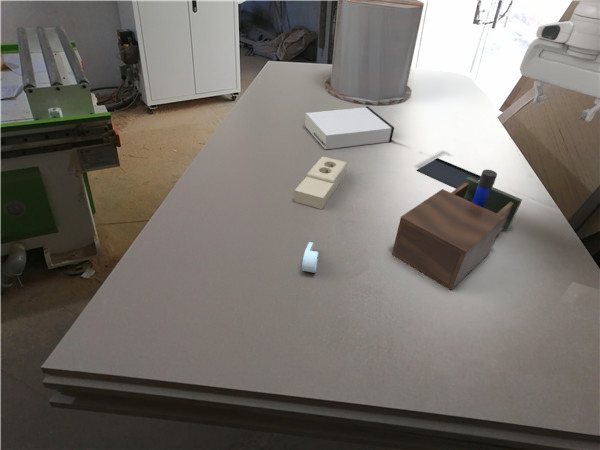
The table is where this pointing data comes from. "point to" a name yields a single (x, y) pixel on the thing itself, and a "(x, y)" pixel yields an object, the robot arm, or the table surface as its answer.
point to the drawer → (492, 201)
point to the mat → (447, 173)
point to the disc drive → (348, 127)
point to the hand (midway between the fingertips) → (560, 111)
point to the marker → (484, 187)
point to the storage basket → (374, 50)
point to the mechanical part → (310, 259)
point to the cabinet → (446, 237)
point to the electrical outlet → (320, 182)
